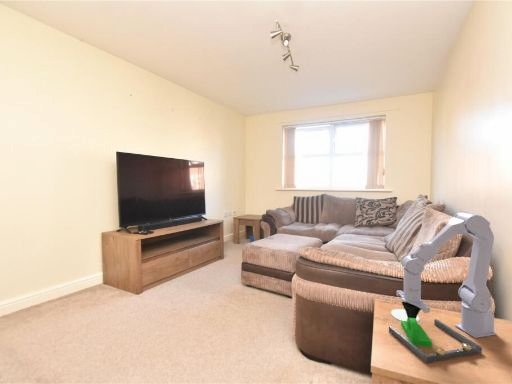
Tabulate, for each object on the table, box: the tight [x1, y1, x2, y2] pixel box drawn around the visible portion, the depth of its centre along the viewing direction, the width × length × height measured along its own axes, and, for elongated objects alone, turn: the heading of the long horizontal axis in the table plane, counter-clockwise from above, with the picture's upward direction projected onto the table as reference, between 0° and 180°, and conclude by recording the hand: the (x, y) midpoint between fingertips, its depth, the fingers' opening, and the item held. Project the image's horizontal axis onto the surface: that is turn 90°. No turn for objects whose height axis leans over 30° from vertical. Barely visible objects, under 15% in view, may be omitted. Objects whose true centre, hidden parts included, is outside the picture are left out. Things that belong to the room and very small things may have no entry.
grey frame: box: [388, 318, 483, 364], centre depth 90 cm, size 21×18×3 cm
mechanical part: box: [400, 317, 433, 348], centre depth 94 cm, size 12×6×8 cm, turn 167°
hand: (411, 321), depth 101 cm, fingers closed
